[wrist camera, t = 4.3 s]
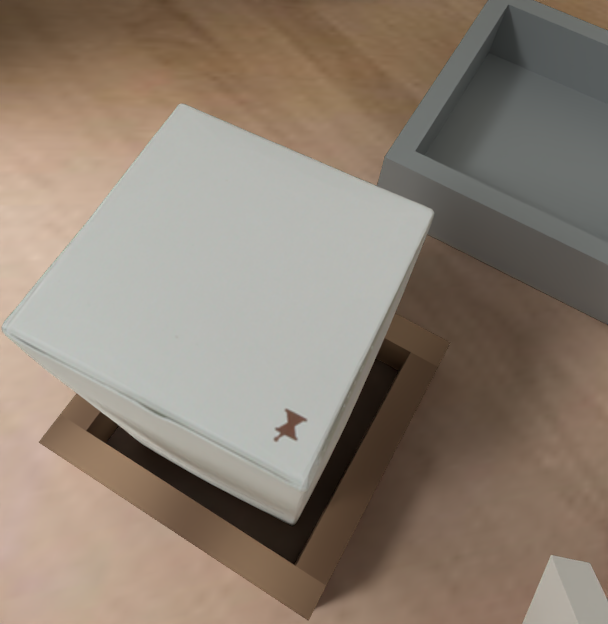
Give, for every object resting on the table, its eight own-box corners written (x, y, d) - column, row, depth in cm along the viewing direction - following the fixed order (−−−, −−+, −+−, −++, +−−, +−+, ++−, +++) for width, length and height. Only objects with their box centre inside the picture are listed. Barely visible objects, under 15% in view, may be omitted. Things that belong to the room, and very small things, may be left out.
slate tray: (371, 206, 28) (384, 156, 24) (474, 46, 33) (497, -15, 29) (621, 331, 26) (674, 296, 22) (693, 140, 30) (746, 87, 27)
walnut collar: (63, 453, 23) (38, 442, 20) (220, 245, 27) (214, 216, 24) (305, 613, 21) (308, 620, 18) (435, 362, 25) (450, 342, 23)
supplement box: (372, 371, 25) (452, 209, 13) (293, 531, 22) (305, 508, 10) (226, 298, 26) (180, 90, 14) (134, 443, 23) (-16, 331, 11)
